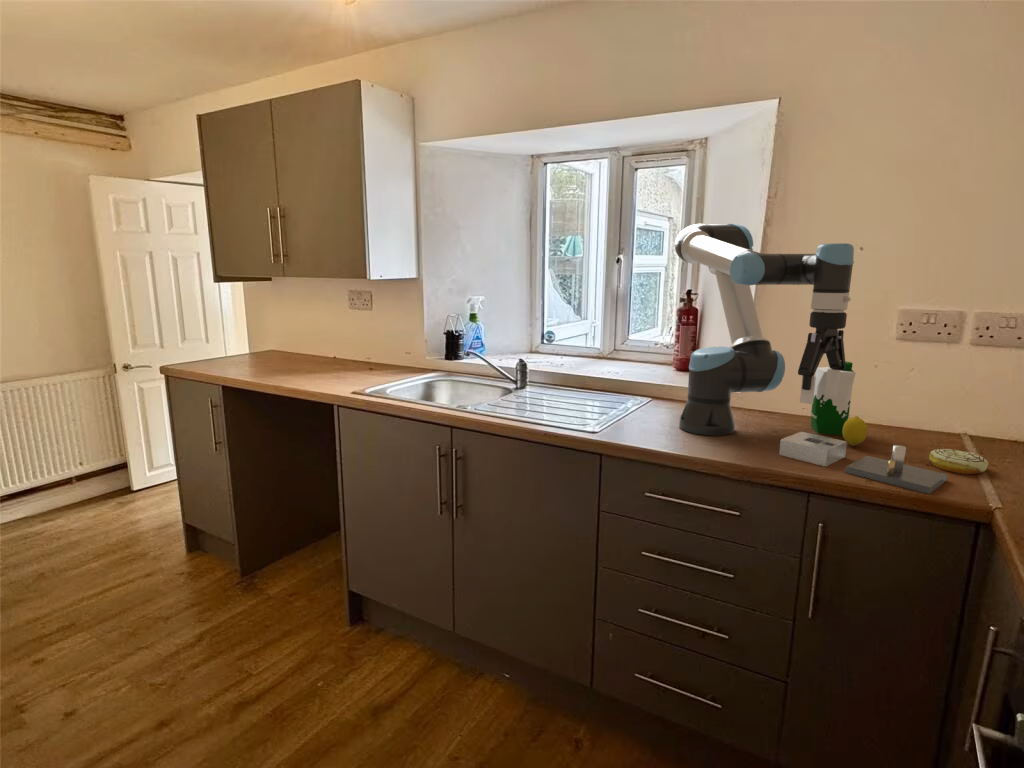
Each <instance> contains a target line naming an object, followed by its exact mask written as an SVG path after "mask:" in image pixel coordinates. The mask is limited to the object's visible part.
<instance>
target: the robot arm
mask: <svg viewBox="0 0 1024 768" xmlns="http://www.w3.org/2000/svg"><path fill="white" fill-rule="evenodd" d="M675 238H676V239H675V242H674V251H675V253H676V255H677V256H678V258H679V259H681V260H683V261H684V262H686V263H689V264H693V265H695V264H696V265H697V264H701V265H703V266H706V267H708V270H709V272H710V273H711V274H713V275H715V277H716V282H717V287H718V290H719V295H720V300H721V303H722V304H721V305H722V308H723V311H724V317H725V320H726V325H727V329H728V334H729V337H730V342H731V345H730V346H729V347H728V346H710V347H702V348H699V349H695V351H693V352H692V353H691V354H690V359H689V365H688V371H689V372H688V382H687V383H688V385H687V400H686V404H685V405H684V408H683V411H682V413H681V414H680V418H679V423H678V424H679V428H680V429H681V430H683V431H685V432H688V433H691V434H696V435H702V436H713V437H715V436H716V437H717V436H728V435H732V434H734V433H735V429H736V423H735V420H734V419H735V418H734V415H733V414H734V413H733V411H732V407H731V399H732V398H731V397H732V395H731V394H732V393H754V392H755V393H762V392H769V391H773V390H775V389H776V388H777V387H779V385H781V383H782V381H783V378H784V376H785V372H786V363H785V357H784V356H783V354H782V353H780V351H778V350H776V349H775V350H773V349H772V345H771V341H770V340H769V339H766V338H764V336H763V333H762V329H761V326H760V325H761V324H760V321H759V317H758V313H757V309H756V305H755V302H754V298H753V294H752V289H751V286H761V285H763V286H764V285H766V286H768V285H770V286H772V285H778V286H779V285H780V286H781V285H783V286H785V285H786V286H789V285H791V286H795V285H796V286H800V285H804V286H807V285H808V286H809V285H810V286H812V285H813V288H812V294H811V304H810V308H811V310H813V311H811V312H810V313H809V314H810V317H809V327H810V328H813V329H815V332H809V333H808V334H807V340H806V343H805V348H804V351H803V354H802V358H801V360H800V364H799V367H798V370H797V374H798V375H799V376H801V377H802V379H801V386H800V387H801V388H800V398H799V399H800V400H799V403H801V404H807V405H812V404H813V400H814V391H815V381H816V377H815V374H816V370H817V368H818V367H819V365H820V363H821V361H822V358H823V356H824V355H826V360H827V362H828V365H829V366H828V367H830V368H831V369H828V371H827V380H826V389H825V395H830V396H838V389H839V380H840V371H841V370H845V362H846V356H845V355H846V354H845V343H844V333H845V332H844V330H842V329H845V328H846V326H847V316H848V313H846V312H845V311H847V310H848V305H849V302H850V301H851V300H852V299H851V297H850V289H851V284H852V283H851V282H852V274H853V266H854V263H855V262H854V254H855V253H854V251H855V250H854V249H855V248H854V245H852V244H851V243H843V242H841V243H840V242H839V243H837V242H836V243H821V244H819V245H818V246H817V249H816V253H763V252H758V251H754V249H753V247H754V238H753V235H752V233H751V231H750V230H749V229H748V228H747V227H746V226H744V225H740V224H734V223H727V224H720V223H719V224H715V223H712V224H711V223H709V224H707V223H696V224H691V225H688V226H686V227H685V228H683V229H682V230H681V231H680V232H679V233H678V234H677V236H676V237H675Z"/></svg>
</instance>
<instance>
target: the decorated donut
mask: <svg viewBox="0 0 1024 768" xmlns="http://www.w3.org/2000/svg"><path fill="white" fill-rule="evenodd" d="M928 458H929V461H930V463H931V464H932V466H934V467H935V466H936V467H935V468H937V469H941V470H942V469H943V471H945V470H946V472H953V473H956V474H960V473H961V474H963V475H976V474H978V473H981V474H983V473H984V472H985V471H986V470H987V469H988V466H989V461H988V460H987V459H986V458H984V457H983V456H982V455H979V454H977V453H974V452H969V451H964V450H958V449H953V448H952V449H951V448H935V449H933V450H931V451H930V453H929V456H928Z"/></svg>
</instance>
